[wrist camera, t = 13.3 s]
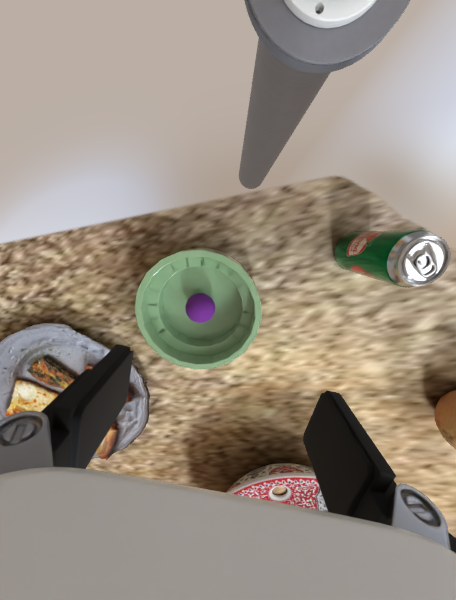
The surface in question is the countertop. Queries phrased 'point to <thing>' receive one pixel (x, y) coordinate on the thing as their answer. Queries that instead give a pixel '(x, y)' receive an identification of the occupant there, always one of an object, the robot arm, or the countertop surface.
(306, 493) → the ceramic bowl
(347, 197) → the countertop surface
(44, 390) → the food plate
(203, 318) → the ball
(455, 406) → the onion
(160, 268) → the green bowl
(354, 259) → the soda can
